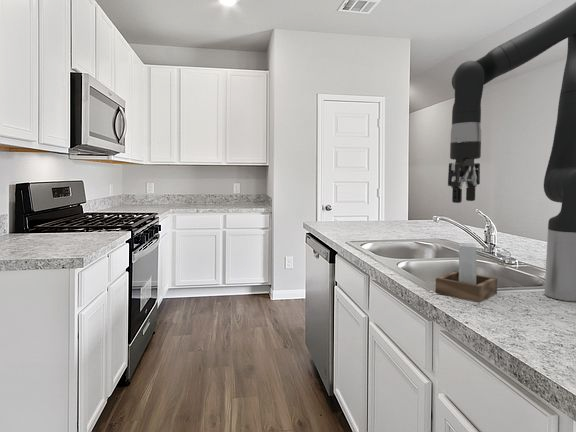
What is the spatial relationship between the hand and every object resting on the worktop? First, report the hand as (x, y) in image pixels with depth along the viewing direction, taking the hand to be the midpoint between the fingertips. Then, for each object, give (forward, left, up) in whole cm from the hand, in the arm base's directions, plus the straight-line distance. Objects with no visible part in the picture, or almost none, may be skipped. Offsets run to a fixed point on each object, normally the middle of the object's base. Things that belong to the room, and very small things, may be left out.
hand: (463, 201), depth 109 cm
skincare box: (+3, +3, -23) cm, 24 cm away
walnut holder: (+3, +3, -24) cm, 25 cm away
